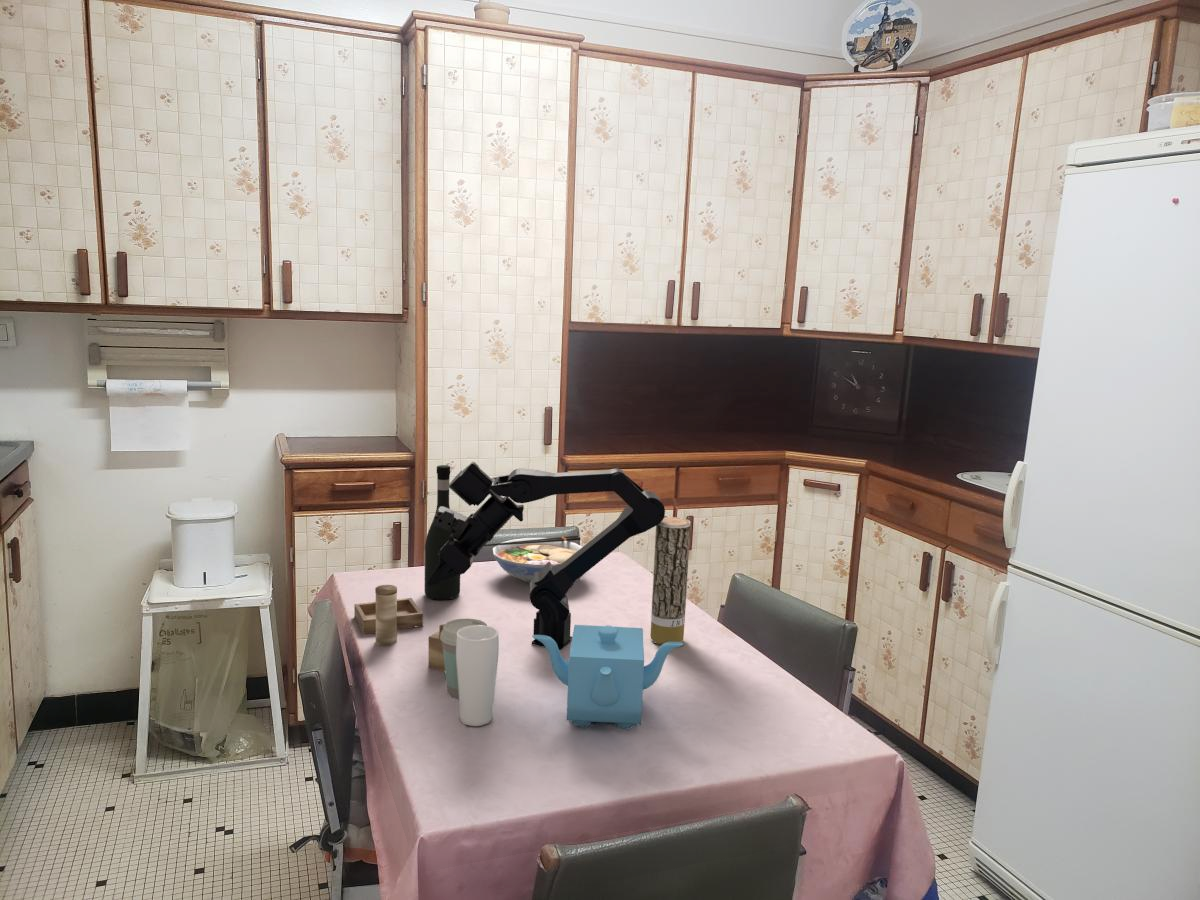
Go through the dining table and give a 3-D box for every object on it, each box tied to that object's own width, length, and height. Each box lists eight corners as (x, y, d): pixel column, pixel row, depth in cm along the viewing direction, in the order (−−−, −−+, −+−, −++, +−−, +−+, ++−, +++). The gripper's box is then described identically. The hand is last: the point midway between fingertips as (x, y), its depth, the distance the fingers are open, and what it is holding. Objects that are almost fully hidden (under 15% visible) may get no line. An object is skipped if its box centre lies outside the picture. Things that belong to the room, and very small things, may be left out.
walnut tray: (411, 610, 191) (411, 597, 191) (422, 626, 182) (423, 613, 182) (354, 616, 186) (354, 604, 186) (363, 633, 177) (363, 620, 177)
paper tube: (645, 643, 178) (651, 522, 174) (656, 631, 185) (662, 515, 180) (677, 649, 176) (684, 527, 171) (687, 637, 182) (694, 519, 178)
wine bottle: (417, 595, 201) (417, 465, 196) (444, 587, 207) (446, 461, 202) (439, 604, 196) (440, 471, 190) (467, 595, 202) (469, 466, 196)
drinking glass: (462, 733, 139) (464, 643, 137) (449, 714, 145) (450, 627, 142) (503, 725, 142) (505, 636, 140) (488, 707, 148) (490, 622, 146)
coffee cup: (479, 705, 149) (481, 638, 146) (431, 699, 150) (432, 632, 148) (495, 684, 157) (497, 620, 155) (450, 678, 158) (450, 614, 156)
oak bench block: (437, 661, 165) (437, 621, 164) (484, 672, 162) (484, 630, 160) (428, 667, 163) (428, 626, 161) (475, 678, 159) (476, 636, 158)
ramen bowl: (500, 599, 200) (501, 564, 199) (477, 569, 221) (477, 537, 220) (603, 590, 209) (605, 557, 208) (571, 562, 230) (572, 531, 229)
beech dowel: (401, 640, 175) (401, 586, 173) (388, 647, 171) (388, 592, 169) (383, 636, 176) (383, 583, 174) (371, 643, 173) (370, 589, 171)
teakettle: (606, 680, 161) (609, 602, 158) (684, 717, 147) (688, 633, 145) (524, 710, 148) (526, 626, 145) (602, 754, 134) (605, 663, 132)
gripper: (463, 485, 180) (411, 539, 181) (448, 501, 161) (391, 562, 162) (503, 522, 181) (451, 576, 182) (493, 542, 162) (436, 602, 163)
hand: (432, 578), depth 172 cm, fingers open, 9 cm apart
